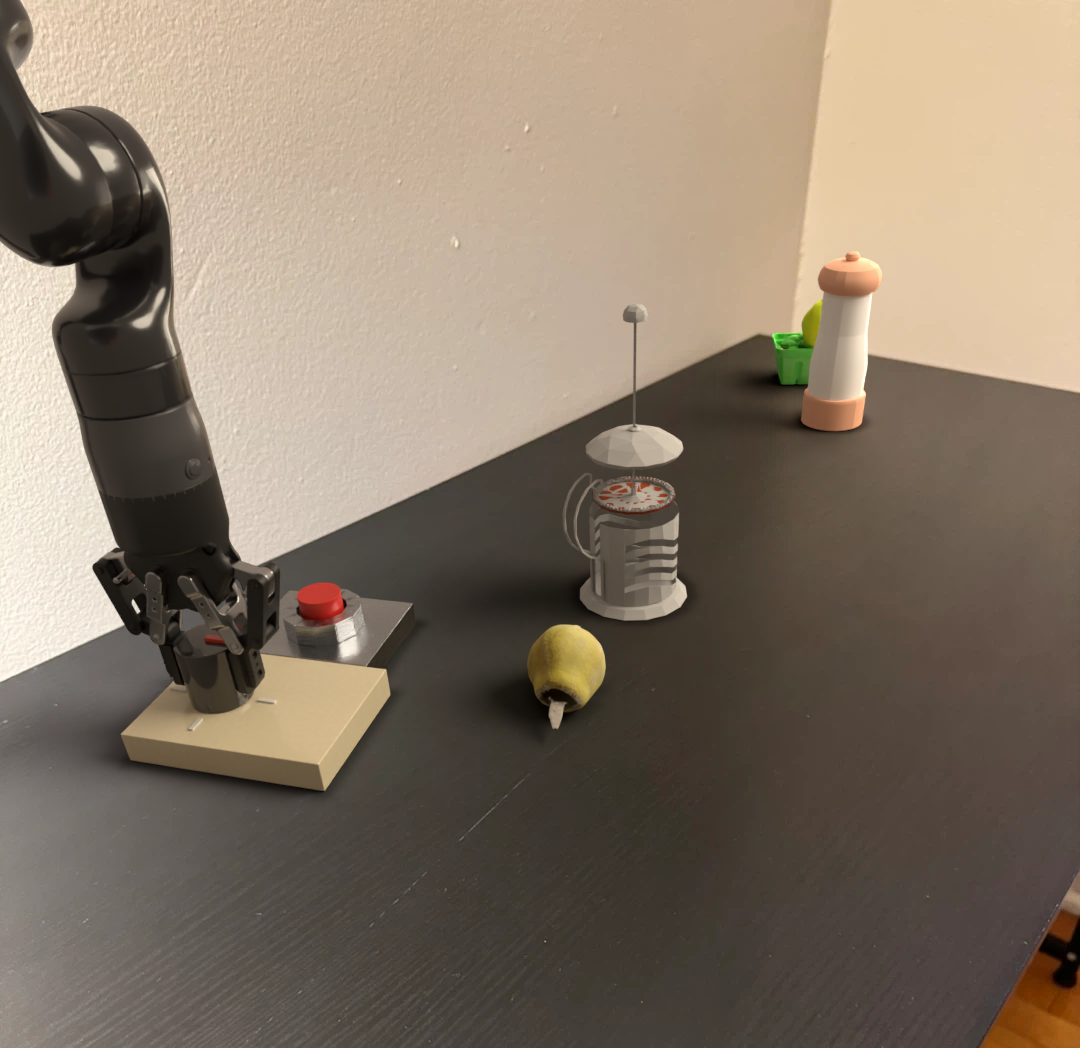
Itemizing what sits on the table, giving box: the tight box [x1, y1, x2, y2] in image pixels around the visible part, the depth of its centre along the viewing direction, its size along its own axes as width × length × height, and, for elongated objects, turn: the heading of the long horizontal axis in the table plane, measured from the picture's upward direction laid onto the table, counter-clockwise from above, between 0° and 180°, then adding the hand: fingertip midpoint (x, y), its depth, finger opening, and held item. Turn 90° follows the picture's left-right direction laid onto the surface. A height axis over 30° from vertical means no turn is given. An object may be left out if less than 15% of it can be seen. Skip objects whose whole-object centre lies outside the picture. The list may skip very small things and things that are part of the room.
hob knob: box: [173, 623, 254, 713], centre depth 73 cm, size 5×5×5 cm
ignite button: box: [297, 582, 344, 621], centre depth 82 cm, size 4×4×2 cm
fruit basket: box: [771, 298, 823, 386], centre depth 129 cm, size 11×9×11 cm
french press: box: [562, 303, 688, 622], centre depth 81 cm, size 10×12×25 cm
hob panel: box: [120, 654, 391, 792], centre depth 75 cm, size 16×12×3 cm
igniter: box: [260, 588, 417, 669], centre depth 83 cm, size 12×10×4 cm
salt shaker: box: [800, 250, 883, 432], centre depth 115 cm, size 7×7×19 cm
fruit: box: [526, 624, 607, 731], centre depth 75 cm, size 6×6×10 cm
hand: (218, 682), depth 74 cm, fingers closed on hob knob, 5 cm apart
